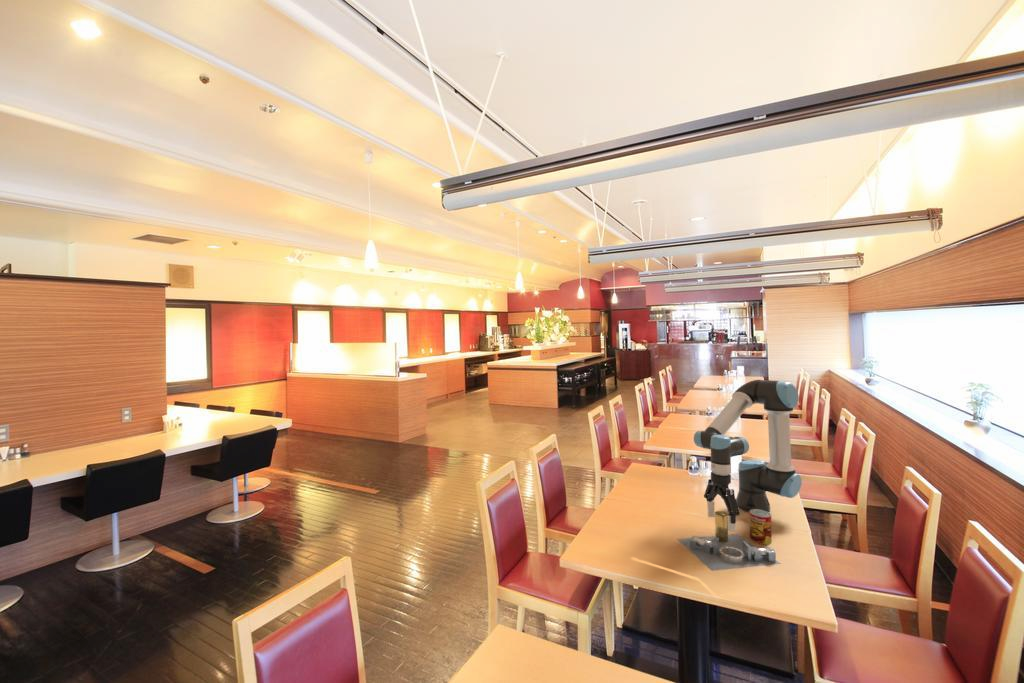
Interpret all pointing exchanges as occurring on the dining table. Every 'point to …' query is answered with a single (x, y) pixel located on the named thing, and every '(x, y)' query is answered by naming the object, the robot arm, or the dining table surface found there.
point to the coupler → (721, 526)
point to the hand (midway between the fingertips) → (720, 523)
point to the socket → (730, 558)
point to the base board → (717, 561)
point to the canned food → (760, 526)
